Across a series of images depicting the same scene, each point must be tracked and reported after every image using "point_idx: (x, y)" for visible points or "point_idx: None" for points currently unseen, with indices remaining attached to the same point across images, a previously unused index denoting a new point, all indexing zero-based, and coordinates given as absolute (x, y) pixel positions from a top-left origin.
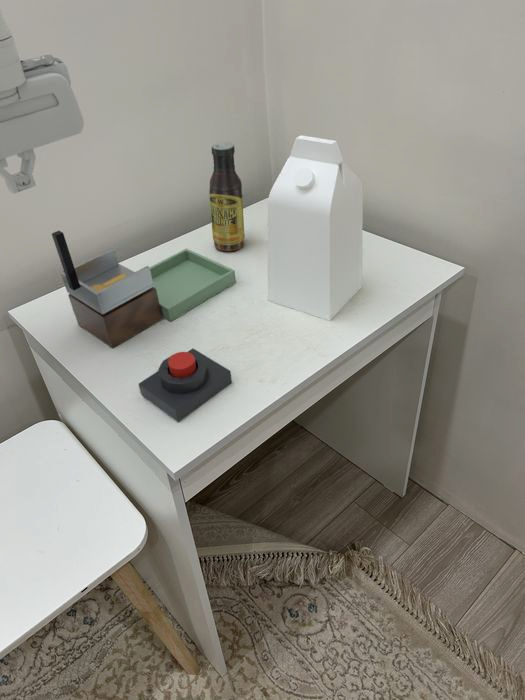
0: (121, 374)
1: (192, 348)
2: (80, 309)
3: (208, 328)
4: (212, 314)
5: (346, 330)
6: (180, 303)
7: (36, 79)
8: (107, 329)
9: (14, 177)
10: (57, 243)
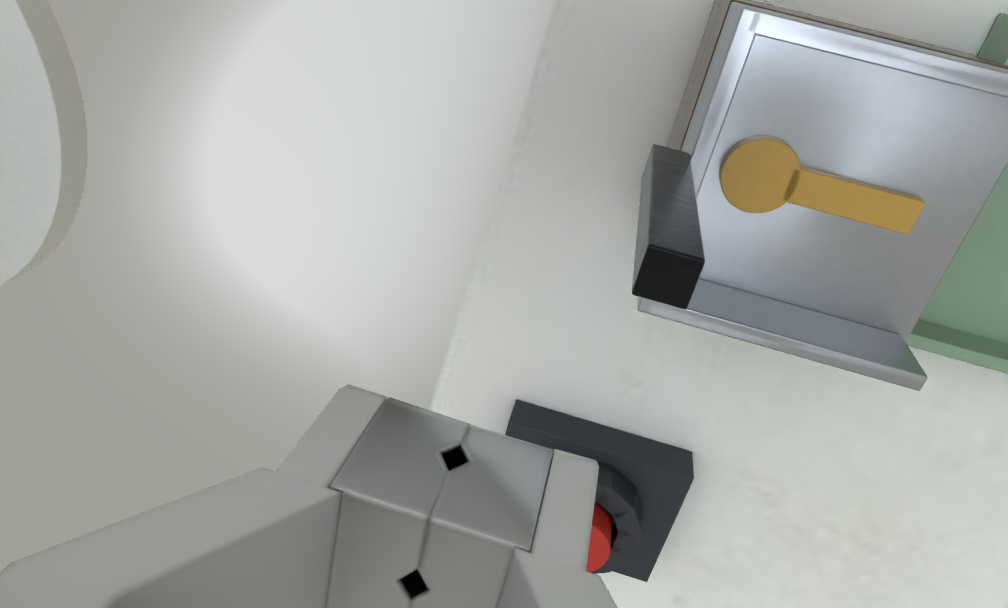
0: (556, 311)
1: (691, 478)
2: (698, 80)
3: (846, 427)
4: (929, 408)
5: None
6: (916, 346)
7: None
8: None
9: (344, 589)
10: (636, 263)
